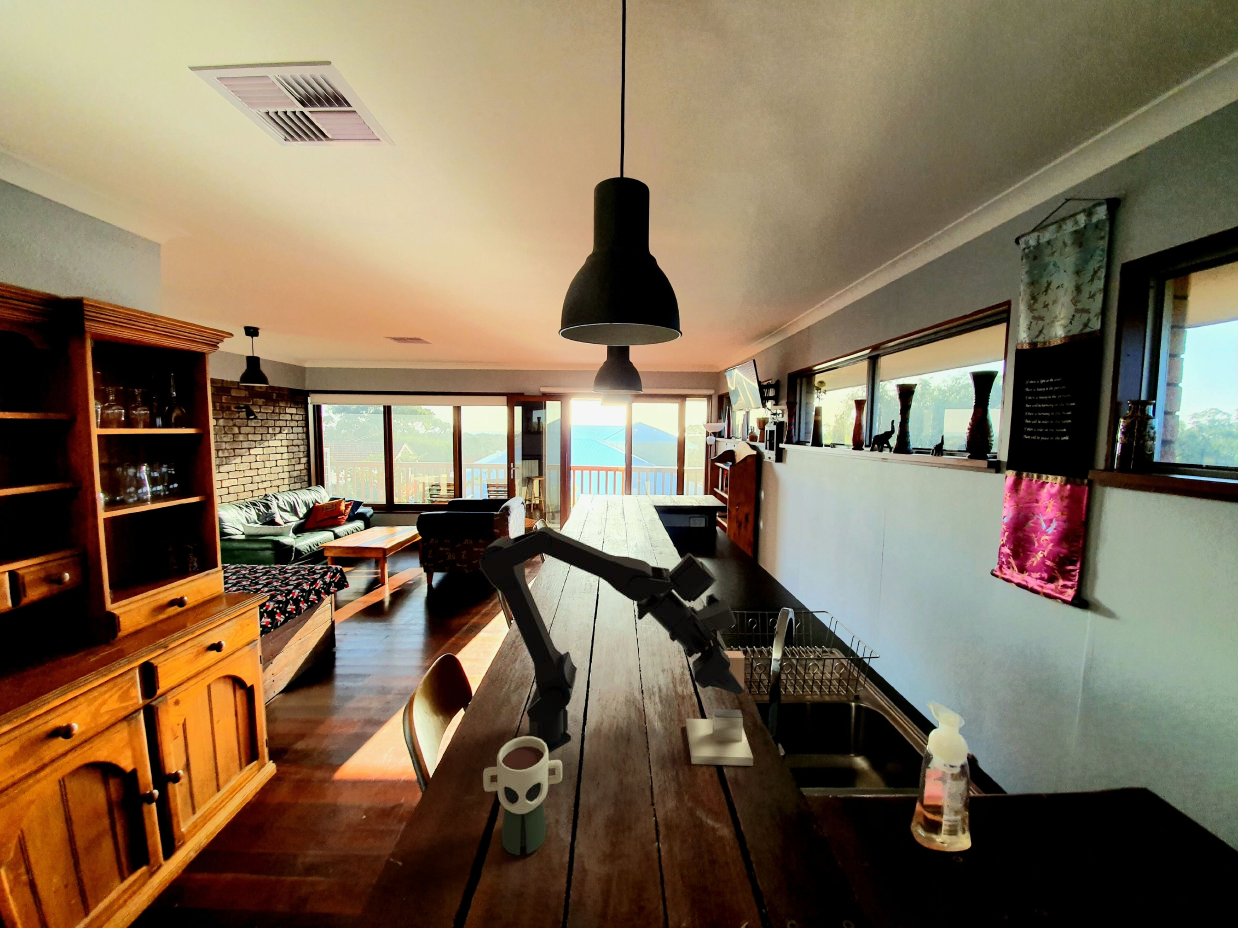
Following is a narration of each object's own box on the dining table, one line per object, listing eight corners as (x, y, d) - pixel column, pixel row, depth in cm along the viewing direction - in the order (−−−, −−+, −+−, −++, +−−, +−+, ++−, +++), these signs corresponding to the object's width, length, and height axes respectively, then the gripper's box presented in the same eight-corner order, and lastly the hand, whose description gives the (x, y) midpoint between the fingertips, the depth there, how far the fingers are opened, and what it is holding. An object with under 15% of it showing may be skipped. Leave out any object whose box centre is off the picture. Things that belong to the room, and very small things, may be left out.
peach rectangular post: (715, 689, 82) (716, 657, 82) (713, 681, 85) (714, 650, 84) (743, 689, 82) (744, 657, 81) (740, 682, 84) (741, 651, 84)
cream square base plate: (691, 763, 80) (692, 729, 79) (686, 725, 90) (686, 695, 89) (752, 765, 79) (753, 731, 79) (740, 727, 89) (741, 697, 89)
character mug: (481, 867, 61) (478, 776, 60) (488, 821, 68) (486, 739, 67) (563, 855, 63) (562, 766, 62) (562, 812, 70) (561, 731, 69)
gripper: (717, 608, 73) (785, 676, 73) (701, 570, 91) (756, 625, 92) (666, 654, 74) (734, 721, 74) (661, 608, 92) (715, 661, 93)
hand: (736, 677), depth 83 cm, fingers open, 9 cm apart
